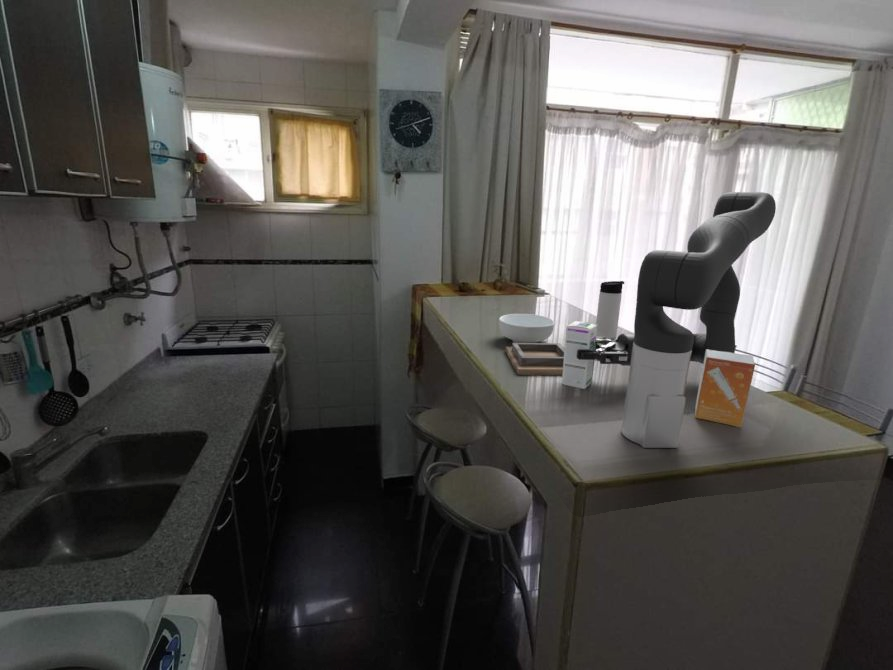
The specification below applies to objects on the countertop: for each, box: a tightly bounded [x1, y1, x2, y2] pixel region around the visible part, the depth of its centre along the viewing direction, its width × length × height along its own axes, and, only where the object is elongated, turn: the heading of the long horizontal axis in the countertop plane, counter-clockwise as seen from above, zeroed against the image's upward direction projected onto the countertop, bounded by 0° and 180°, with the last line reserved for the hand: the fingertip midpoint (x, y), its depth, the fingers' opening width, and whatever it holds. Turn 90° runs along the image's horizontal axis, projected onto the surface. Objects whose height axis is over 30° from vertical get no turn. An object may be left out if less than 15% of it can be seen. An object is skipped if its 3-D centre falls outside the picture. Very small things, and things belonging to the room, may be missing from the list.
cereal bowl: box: [498, 313, 555, 343], centre depth 141 cm, size 17×17×7 cm
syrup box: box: [561, 320, 597, 390], centre depth 105 cm, size 6×6×14 cm
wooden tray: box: [505, 342, 565, 376], centre depth 121 cm, size 19×16×4 cm
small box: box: [694, 349, 756, 428], centre depth 89 cm, size 8×6×13 cm
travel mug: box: [595, 280, 625, 341], centre depth 136 cm, size 6×7×20 cm
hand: (571, 349), depth 105 cm, fingers open, 8 cm apart
